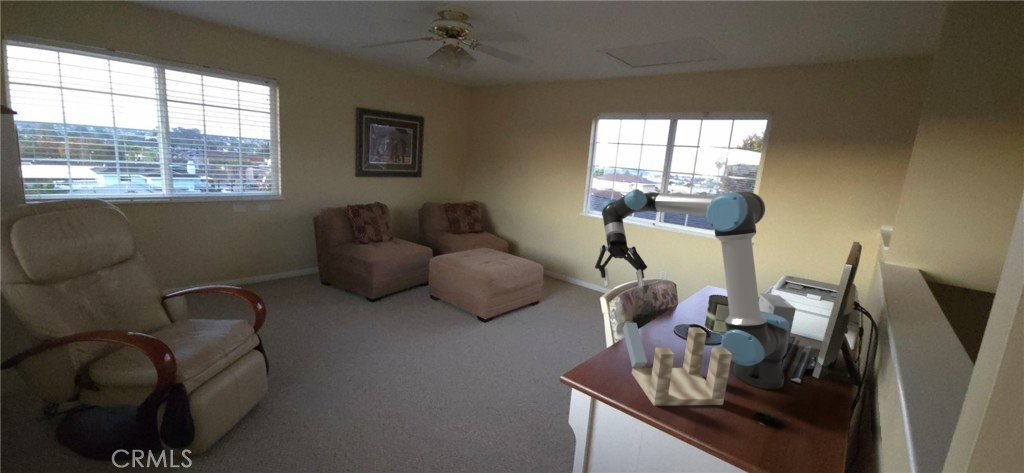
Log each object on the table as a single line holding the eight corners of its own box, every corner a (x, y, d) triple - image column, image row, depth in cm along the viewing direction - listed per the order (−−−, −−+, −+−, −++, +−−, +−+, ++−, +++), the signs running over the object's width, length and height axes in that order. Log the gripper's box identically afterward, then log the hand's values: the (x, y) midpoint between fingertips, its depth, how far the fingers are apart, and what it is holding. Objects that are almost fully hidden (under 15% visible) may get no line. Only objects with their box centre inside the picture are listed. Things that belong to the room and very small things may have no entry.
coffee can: (700, 328, 183) (705, 298, 180) (709, 322, 190) (714, 292, 187) (725, 336, 176) (731, 305, 173) (733, 329, 184) (738, 299, 180)
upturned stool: (692, 372, 146) (700, 327, 143) (722, 404, 129) (732, 354, 125) (631, 373, 144) (637, 327, 140) (654, 405, 127) (661, 354, 123)
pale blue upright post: (643, 367, 144) (632, 326, 155) (647, 362, 141) (635, 320, 152) (632, 367, 144) (621, 326, 154) (635, 362, 141) (625, 320, 151)
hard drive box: (786, 357, 161) (796, 308, 157) (764, 354, 162) (774, 306, 158) (770, 339, 176) (779, 294, 171) (750, 337, 177) (759, 292, 173)
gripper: (640, 242, 172) (651, 290, 162) (582, 239, 168) (589, 289, 158) (649, 233, 166) (660, 283, 156) (588, 230, 161) (596, 281, 151)
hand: (624, 286), depth 157 cm, fingers open, 13 cm apart
